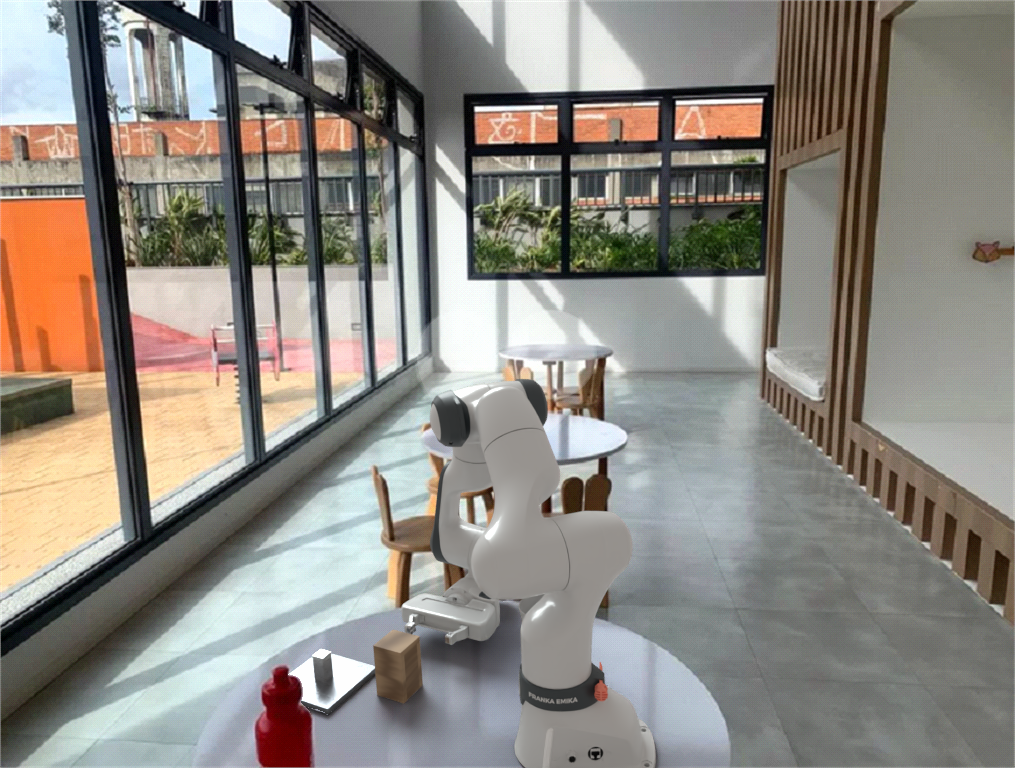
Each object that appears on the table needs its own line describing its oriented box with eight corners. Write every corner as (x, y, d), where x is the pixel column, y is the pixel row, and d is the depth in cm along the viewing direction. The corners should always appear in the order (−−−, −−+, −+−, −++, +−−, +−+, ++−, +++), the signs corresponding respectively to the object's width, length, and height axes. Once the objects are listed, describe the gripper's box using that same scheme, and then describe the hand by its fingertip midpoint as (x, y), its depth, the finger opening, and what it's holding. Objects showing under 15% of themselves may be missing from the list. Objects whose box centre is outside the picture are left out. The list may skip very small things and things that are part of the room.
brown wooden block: (422, 685, 133) (419, 636, 131) (404, 703, 128) (400, 653, 126) (396, 677, 136) (392, 629, 134) (377, 695, 131) (373, 645, 129)
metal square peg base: (377, 672, 138) (374, 643, 136) (328, 715, 125) (325, 683, 124) (321, 655, 144) (318, 627, 143) (269, 694, 132) (266, 664, 131)
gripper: (421, 580, 155) (383, 610, 143) (505, 598, 146) (471, 631, 134) (423, 607, 156) (385, 638, 144) (506, 627, 147) (472, 662, 135)
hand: (427, 635), depth 139 cm, fingers open, 8 cm apart
